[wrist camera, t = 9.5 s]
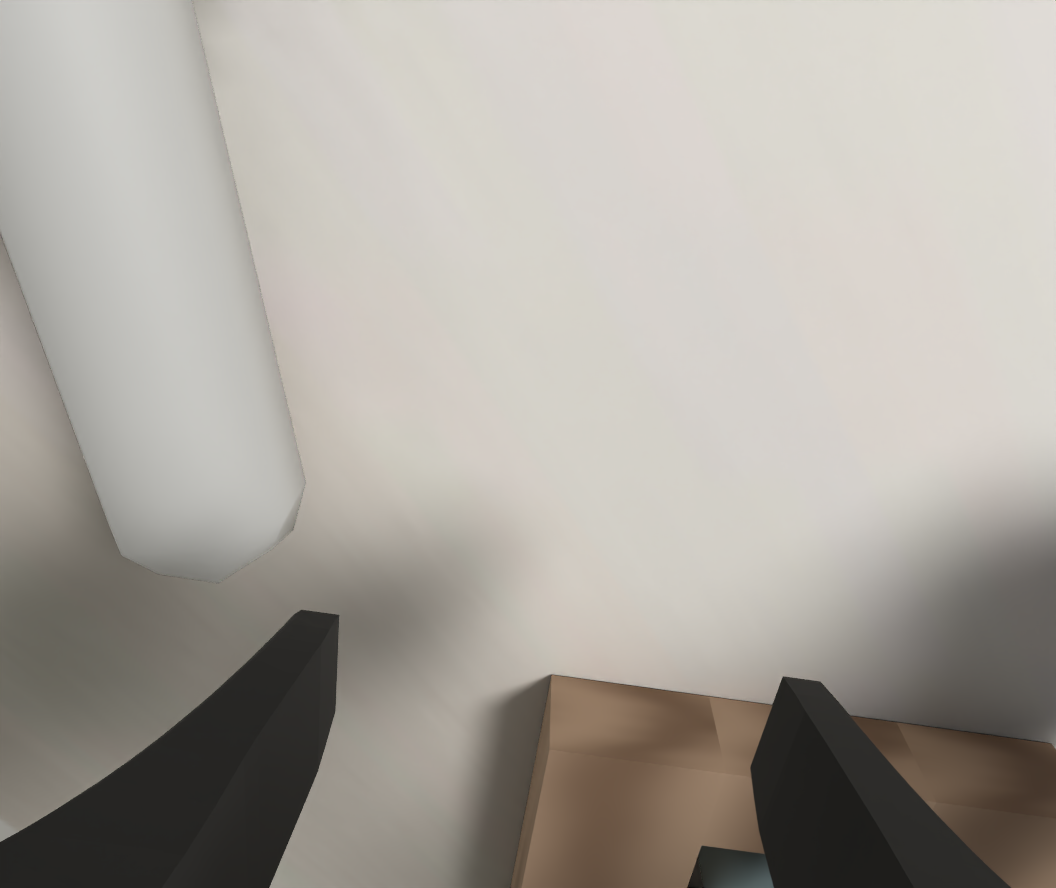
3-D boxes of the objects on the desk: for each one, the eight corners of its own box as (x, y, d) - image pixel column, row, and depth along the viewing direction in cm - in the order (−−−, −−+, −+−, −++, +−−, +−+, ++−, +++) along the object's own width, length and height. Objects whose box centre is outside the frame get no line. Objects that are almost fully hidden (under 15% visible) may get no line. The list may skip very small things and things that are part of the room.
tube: (334, 591, 19) (-121, -1353, 8) (98, 646, 18) (-794, -1528, 7) (323, 492, 24) (22, -836, 13) (134, 530, 23) (-370, -891, 12)
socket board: (1051, 743, 25) (1110, 825, 22) (918, 971, 30) (953, 1060, 28) (551, 675, 25) (549, 749, 22) (504, 916, 30) (498, 1001, 27)
